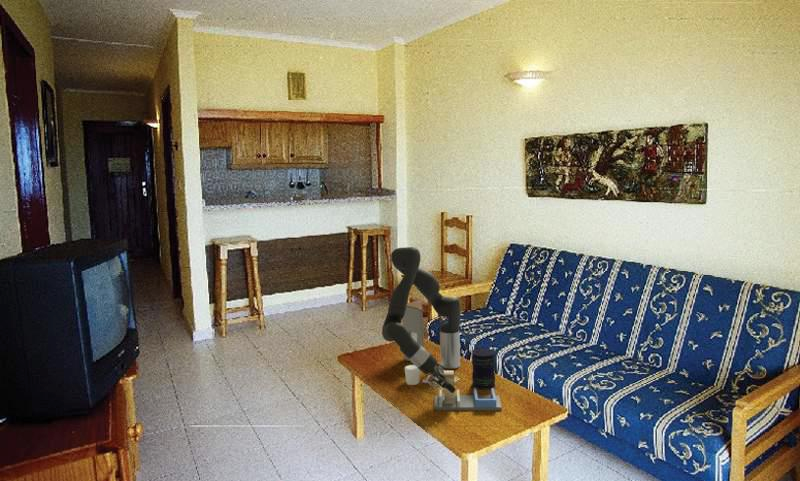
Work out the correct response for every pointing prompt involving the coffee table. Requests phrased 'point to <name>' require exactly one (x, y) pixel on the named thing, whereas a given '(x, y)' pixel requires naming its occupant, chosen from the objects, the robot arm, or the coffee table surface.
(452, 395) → the peg
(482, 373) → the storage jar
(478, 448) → the coffee table surface
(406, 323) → the cabinet
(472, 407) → the grey slotted base
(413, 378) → the beige cylinder
